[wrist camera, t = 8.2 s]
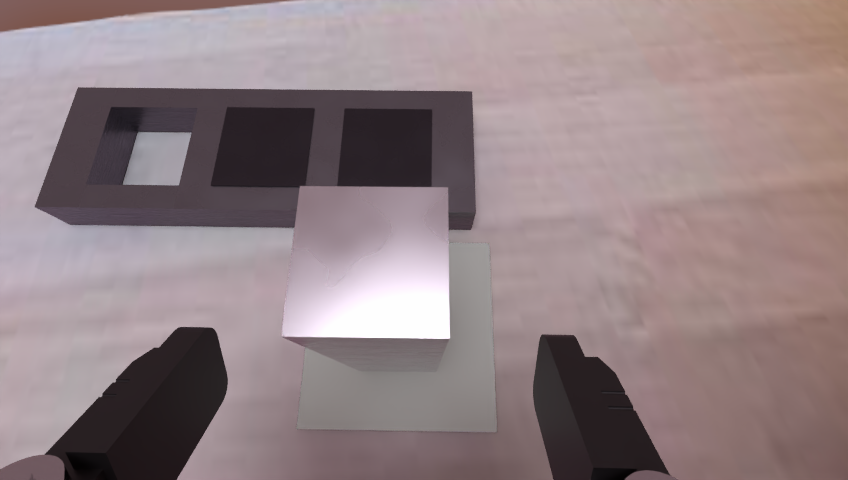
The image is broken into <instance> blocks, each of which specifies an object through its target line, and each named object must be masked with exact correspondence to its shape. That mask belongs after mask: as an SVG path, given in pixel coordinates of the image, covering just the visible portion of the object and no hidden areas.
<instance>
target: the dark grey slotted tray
mask: <svg viewBox="0 0 848 480" xmlns="http://www.w3.org/2000/svg"><path fill="white" fill-rule="evenodd" d="M137 131H141V132H192V134H191V138H190V142H189V146H188V150H187V155H186V159H185V163H184V167H183V171H182V176H181V180H180V184H179V186H165V185H122V182H123V179H124V176H125V172H126V169H127V165H128V162H129V158H130V155H131V151H132V148H133V145H134V141H135V138H136V134H137ZM300 186H348V187H448V226H449V229H463V230H471V228H472V224H473V220H474V217H475V213H476V208H475V174H474V140H473V107H472V92H468V91H370V90H272V89H174V88H78V89H77V92H76V95H75V97H74V100H73V103H72V106H71V108H70V111H69V114H68V117H67V119H66V122H65V125H64V128H63V130H62V133H61V136H60V139H59V141H58V144H57V147H56V150H55V152H54V155H53V158H52V161H51V163H50V166H49V169H48V172H47V175H46V177H45V180H44V183H43V186H42V188H41V191H40V194H39V197H38V199H37V202H36V205H35V207H36V208H38V209H40V210H42V211H44V212H46V213H48V214H50V215H52V216H54V217H56V218H58V219H60V220H62V221H64V222H66V223H68V224H70V225H147V226H226V227H295V221H296V213H297V205H298V197H299V189H300Z"/></svg>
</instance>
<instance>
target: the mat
mask: <svg viewBox="0 0 848 480" xmlns="http://www.w3.org/2000/svg"><path fill="white" fill-rule="evenodd" d="M449 331H450V339H449V341H448V344H447V346H446V349H445V351H444V354H443V356H442V359H441V361H440V364H439V366H438V369H437V371H436V372H396V371H358V370H356V369H354V368H351V367H349V366H347V365H344V364H342V363H340V362H338V361H335V360H333V359H331V358H329V357H326V356H324V355H322V354H319V353H317V352H315V351H313V350H310V349H308V348H306V347H305V354H304V363H303V373H302V382H301V391H300V400H299V409H298V419H297V428H296V429H313V430H375V431H436V432H497V416H496V392H495V367H494V343H493V318H492V294H491V269H490V245H489V243H449Z"/></svg>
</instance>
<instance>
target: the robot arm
mask: <svg viewBox="0 0 848 480" xmlns="http://www.w3.org/2000/svg"><path fill="white" fill-rule="evenodd" d="M227 384H228V378H227V372H226V368H225V364H224V360H223V356H222V352H221V348H220V344H219V340H218V336H217V333H216V331H215V330H214V329H213V328H204V327H180V328H177V329H176V330H175V331H174V332H173V333H172V334H171V335H170V336H169V337H168V338H167V340H166V341H165V342H164V343H163V344H162V345H161V346H160V347H159V348H153V349H152V350H150V351H149V352H147V353H146V354H144V355H142V356H141V357H139V358H138V359H136V360H135V361H133V362H132V363H131V364H130V365H129V366H128V367H127V368H126V369H125V370H124V371H123V372H122V374H121V375H120V376H119V377H118V378H117V379H116V382H115V383H112V384H111V385H110V386H109V387H108V388H107V389H106V390H105V391H104V393H103V395H102V397H99V398H98V399H97V400H96V401H95V402H94V403H93V404H92V405H91V406H90V407H89V408H88V409H87V410H86V412H85V413H84V414H83V415H82V416H81V417H80V418H79V419H78V420H77V421H76V422H75V423H74V424H73V425H72V426H71V427H70V428H69V429H68V431H67V432H66V433H65V434H64V435H63V436H62V437H61V438H60V439H59V440H58V441H57V442H56V443H55V444H54V445H53V446H52V447H51V448H50V450H49V451H48V452H47V453H46V454H45V455H38V456H33V457H29V458H25V459H22V460H19V461H17V462H14V463H12V464H10V465H8V466H6V467H4V468H2V469H0V480H177V478H178V476H179V475H180V473H181V471H182V470H183V468H184V466H185V465H186V463H187V461H188V459H189V458H190V456H191V454H192V453H193V451H194V449H195V448H196V446H197V444H198V443H199V441H200V439H201V438H202V436H203V434H204V433H205V431H206V429H207V427H208V426H209V424H210V422H211V421H212V419H213V417H214V416H215V414H216V412H217V411H218V409H219V407H220V406H221V404H222V402H223V400H224V398H225V395H226V391H227ZM533 397H534V406H535V411H536V415H537V418H538V422H539V426H540V430H541V433H542V437H543V441H544V445H545V449H546V452H547V456H548V460H549V464H550V467H551V471H552V475H553V479H554V480H678V479H676V478H674V477H672V476H670V474H669V473H668V471H667V469H666V467H665V465H664V464H663V462H662V460H661V458H660V456H659V454H658V452H657V450H656V449H655V447H654V445H653V443H652V441H651V439H650V437H649V435H648V434H647V432H646V430H645V428H644V426H643V424H642V422H641V420H640V419H639V417H638V415H637V413H636V411H634V410H633V405H632V404H631V402H630V400H629V398H628V396H627V395H625V390H624V389H623V387H622V385H621V383H620V381H619V379H618V377H617V375H616V374H615V372H614V371H612V370H611V369H610V368H609V367H608V366H607V365H606V364H605V363H604V362H603V361H601V360H600V359H599V358H598V357H585V356H584V354H583V352H582V349H581V347H580V345H579V343H578V341H577V339H576V337H575V336H574V335H541V337H540V341H539V348H538V355H537V362H536V369H535V376H534V384H533Z"/></svg>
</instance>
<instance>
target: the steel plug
mask: <svg viewBox="0 0 848 480" xmlns="http://www.w3.org/2000/svg"><path fill="white" fill-rule="evenodd" d="M281 337H283V338H285V339H287V340H290V341H292V342H294V343H297V344H299V345H301V346H303V347H306V348H308V349H310V350H313V351H315V352H317V353H319V354H322V355H324V356H326V357H329V358H331V359H333V360H335V361H338V362H340V363H342V364H344V365H347V366H349V367H351V368H354V369H356V370H358V371H396V372H436V371H437V369H438V366H439V364H440V361H441V359H442V356H443V354H444V351H445V349H446V346H447V344H448V341H449V339H450V331H449V226H448V187H348V186H300V189H299V197H298V205H297V213H296V221H295V229H294V237H293V245H292V253H291V261H290V269H289V277H288V285H287V293H286V301H285V309H284V317H283V324H282V332H281Z"/></svg>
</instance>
